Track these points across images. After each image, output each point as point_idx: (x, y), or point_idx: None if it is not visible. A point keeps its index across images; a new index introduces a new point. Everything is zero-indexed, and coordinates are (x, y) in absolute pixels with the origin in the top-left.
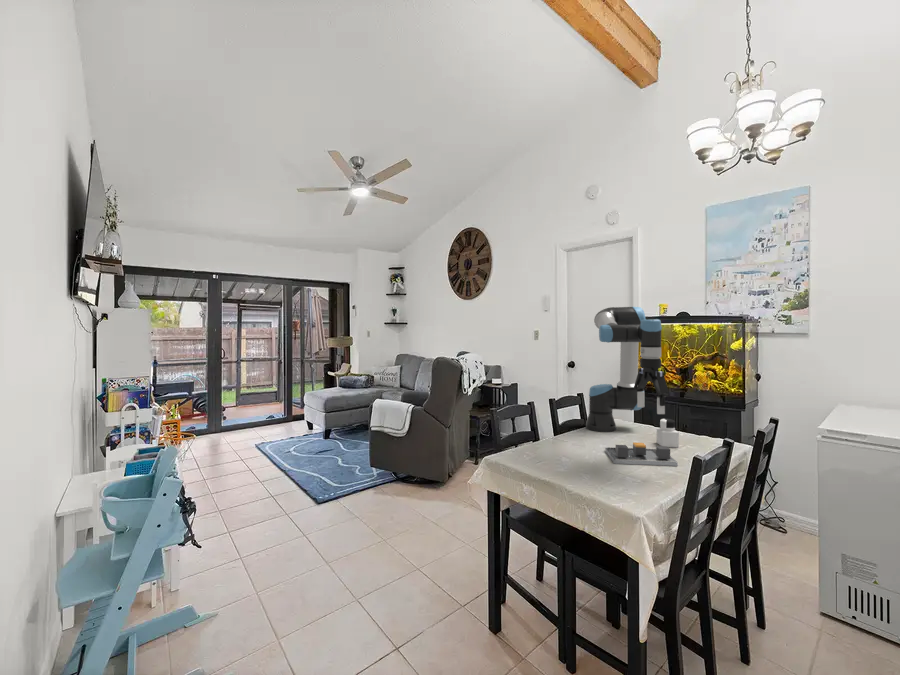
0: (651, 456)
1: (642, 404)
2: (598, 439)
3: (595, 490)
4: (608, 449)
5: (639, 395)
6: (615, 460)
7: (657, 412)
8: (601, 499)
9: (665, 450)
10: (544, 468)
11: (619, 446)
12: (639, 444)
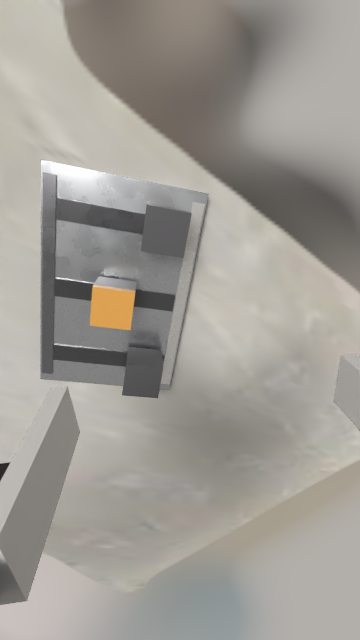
0: (138, 260)
1: (65, 420)
2: None
3: (319, 459)
4: (61, 374)
5: (41, 534)
6: (169, 385)
7: (345, 408)
8: (356, 459)
9: (186, 233)
10: (190, 520)
11: (144, 389)
12: (118, 311)
